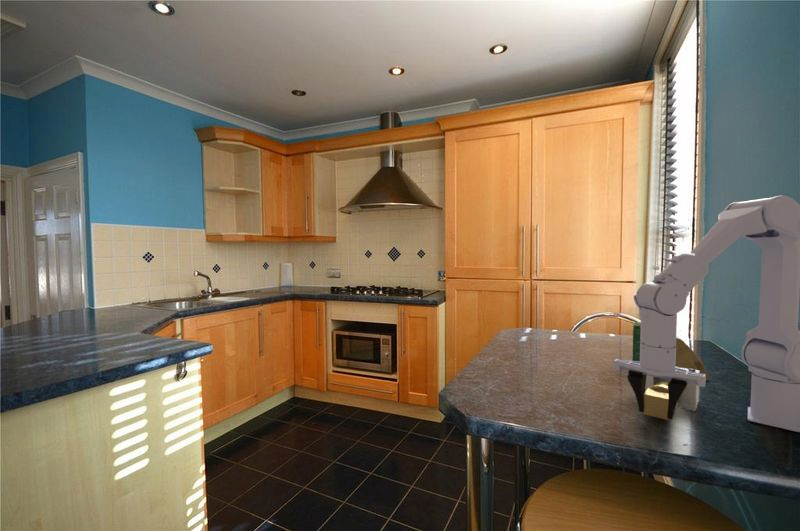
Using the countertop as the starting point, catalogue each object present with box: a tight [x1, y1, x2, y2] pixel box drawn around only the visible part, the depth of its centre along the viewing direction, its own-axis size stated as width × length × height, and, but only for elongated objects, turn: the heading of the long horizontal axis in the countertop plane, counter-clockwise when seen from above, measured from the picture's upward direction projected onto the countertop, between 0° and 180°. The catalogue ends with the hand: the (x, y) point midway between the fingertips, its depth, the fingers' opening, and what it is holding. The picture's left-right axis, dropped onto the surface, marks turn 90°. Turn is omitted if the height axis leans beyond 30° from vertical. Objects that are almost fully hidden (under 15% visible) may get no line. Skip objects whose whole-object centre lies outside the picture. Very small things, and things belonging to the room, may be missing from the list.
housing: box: [645, 367, 700, 412], centre depth 84 cm, size 10×7×7 cm
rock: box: [675, 337, 710, 382], centre depth 100 cm, size 11×9×10 cm
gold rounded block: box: [642, 381, 678, 421], centre depth 76 cm, size 12×6×6 cm, turn 137°
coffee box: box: [631, 321, 641, 362], centre depth 107 cm, size 8×3×13 cm, turn 144°
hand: (655, 413), depth 73 cm, fingers closed on gold rounded block, 4 cm apart
